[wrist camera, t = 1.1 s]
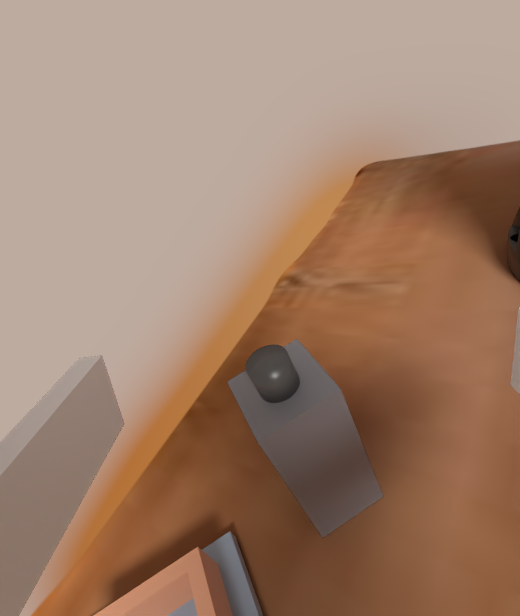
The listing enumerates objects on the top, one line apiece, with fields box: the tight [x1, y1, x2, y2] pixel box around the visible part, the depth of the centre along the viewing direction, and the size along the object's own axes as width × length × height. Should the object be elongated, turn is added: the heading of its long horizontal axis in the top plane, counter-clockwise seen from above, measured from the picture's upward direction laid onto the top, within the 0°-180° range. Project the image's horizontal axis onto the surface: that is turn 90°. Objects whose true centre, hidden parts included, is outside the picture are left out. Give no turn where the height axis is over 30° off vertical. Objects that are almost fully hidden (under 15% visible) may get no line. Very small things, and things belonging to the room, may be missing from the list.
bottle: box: [227, 339, 383, 538], centre depth 25 cm, size 5×5×14 cm
